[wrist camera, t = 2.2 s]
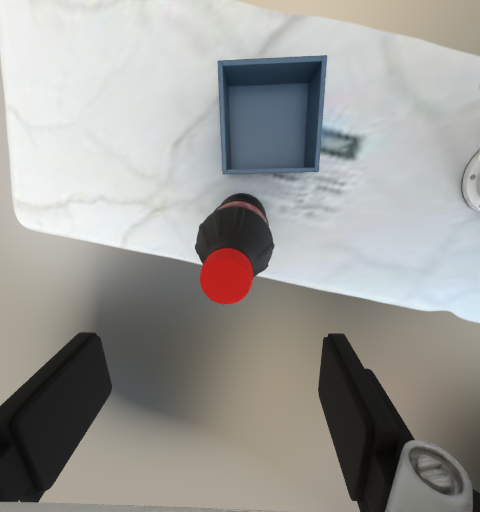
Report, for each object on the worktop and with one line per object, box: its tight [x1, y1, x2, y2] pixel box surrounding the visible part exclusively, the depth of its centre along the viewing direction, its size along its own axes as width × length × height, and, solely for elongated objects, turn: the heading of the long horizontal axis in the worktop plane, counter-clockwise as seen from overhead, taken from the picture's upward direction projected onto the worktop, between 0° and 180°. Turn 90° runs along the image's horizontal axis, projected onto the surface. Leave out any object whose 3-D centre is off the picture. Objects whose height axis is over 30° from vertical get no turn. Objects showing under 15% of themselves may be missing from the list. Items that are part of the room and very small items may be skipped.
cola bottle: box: [195, 194, 274, 304], centre depth 32 cm, size 8×8×30 cm
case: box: [218, 55, 327, 174], centre depth 37 cm, size 14×14×9 cm
